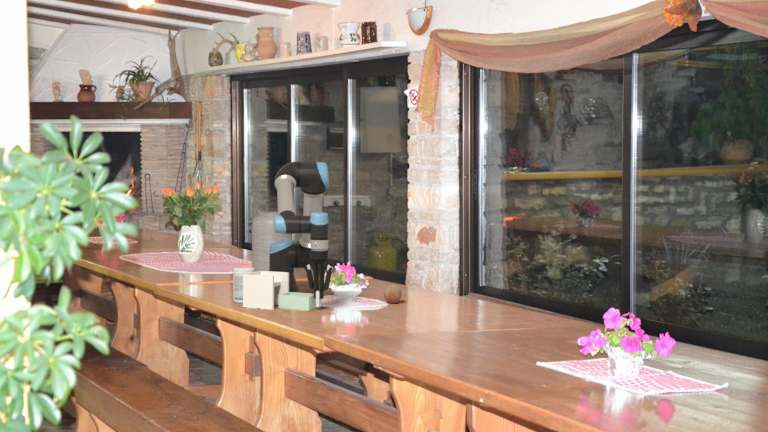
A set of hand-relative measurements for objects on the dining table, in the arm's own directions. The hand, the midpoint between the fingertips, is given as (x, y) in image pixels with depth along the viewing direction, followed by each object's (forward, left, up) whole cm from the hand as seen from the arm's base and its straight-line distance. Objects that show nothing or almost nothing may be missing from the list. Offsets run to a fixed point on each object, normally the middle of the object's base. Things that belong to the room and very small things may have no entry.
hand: (318, 306), depth 437 cm
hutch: (0, -25, -2) cm, 25 cm away
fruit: (-32, +20, -2) cm, 38 cm away
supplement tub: (-6, -39, -2) cm, 39 cm away
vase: (-91, -70, -2) cm, 115 cm away
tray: (0, -9, -2) cm, 9 cm away
